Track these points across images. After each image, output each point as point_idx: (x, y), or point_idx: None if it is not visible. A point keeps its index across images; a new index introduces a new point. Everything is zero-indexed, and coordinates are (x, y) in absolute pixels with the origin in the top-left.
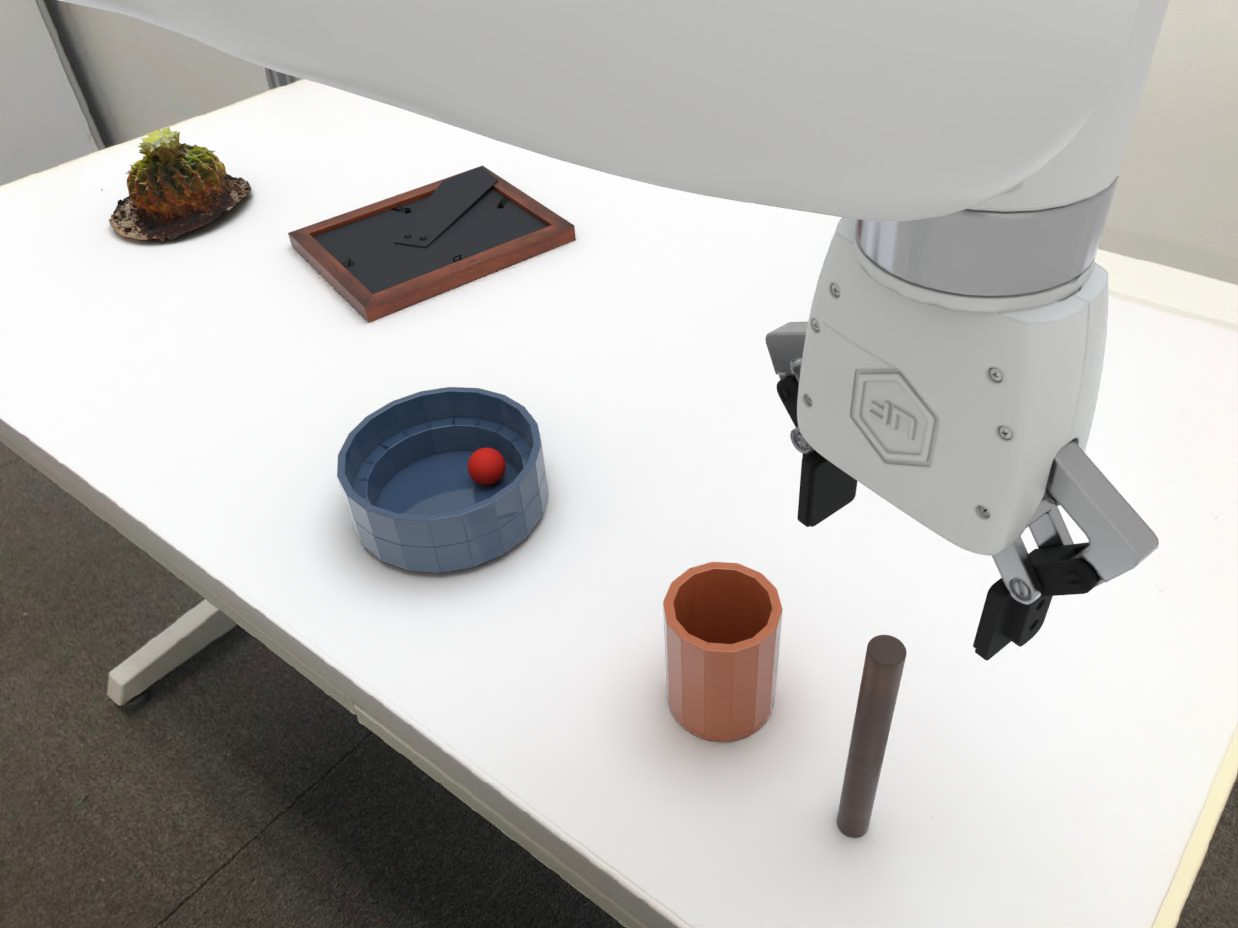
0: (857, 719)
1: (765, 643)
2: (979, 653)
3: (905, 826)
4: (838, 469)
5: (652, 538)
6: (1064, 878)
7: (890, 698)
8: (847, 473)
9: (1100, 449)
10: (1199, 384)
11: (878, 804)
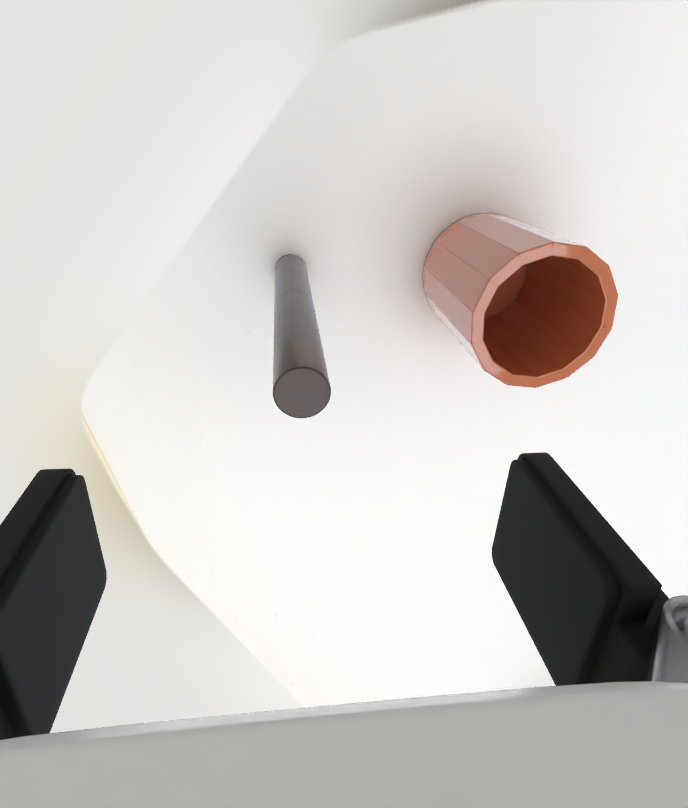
0: (305, 314)
1: (468, 321)
2: (53, 472)
3: (257, 306)
4: (557, 605)
5: (656, 354)
6: (139, 372)
7: (274, 353)
8: (522, 701)
9: (394, 679)
10: None
11: None
